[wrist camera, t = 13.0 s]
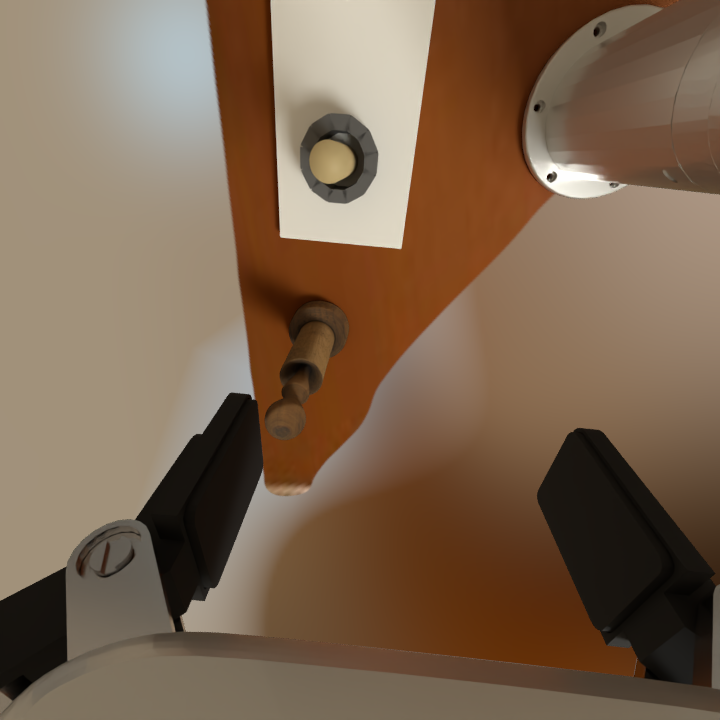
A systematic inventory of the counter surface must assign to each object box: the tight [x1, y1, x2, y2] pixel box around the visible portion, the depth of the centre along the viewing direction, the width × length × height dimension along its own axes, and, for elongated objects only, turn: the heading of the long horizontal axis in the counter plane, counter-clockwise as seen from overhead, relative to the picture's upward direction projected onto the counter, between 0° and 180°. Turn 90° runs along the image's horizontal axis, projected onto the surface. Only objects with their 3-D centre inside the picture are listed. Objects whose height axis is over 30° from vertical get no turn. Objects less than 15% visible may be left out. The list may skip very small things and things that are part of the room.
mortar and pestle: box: [265, 301, 349, 440], centre depth 32 cm, size 7×6×18 cm
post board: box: [271, 0, 435, 249], centre depth 24 cm, size 12×24×12 cm, turn 176°
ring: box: [300, 113, 379, 204], centre depth 28 cm, size 6×6×4 cm
